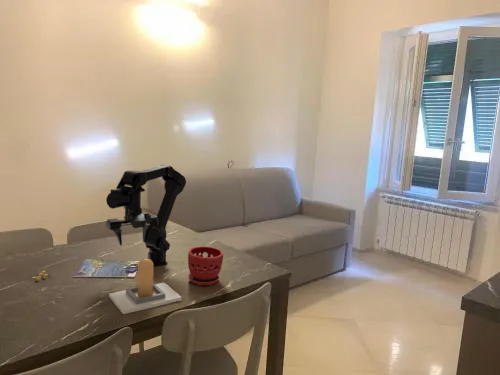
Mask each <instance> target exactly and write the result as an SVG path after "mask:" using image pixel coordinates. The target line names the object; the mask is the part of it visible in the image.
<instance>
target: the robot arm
mask: <svg viewBox="0 0 500 375" xmlns="http://www.w3.org/2000/svg"><path fill="white" fill-rule="evenodd" d="M159 178H161V179H162V180H163V181H164V191H165V192H164V195H163V199H162V201H161V203H160V206H159V209H158V212H157V214H156V216H155V215H154V214H151V213H149V212H147V213H143V208H142V207H141V206H142V205H141V203H142V202H141V200H142V199H141V198H142V196H141V193H143V192H144V193H145V192H146V190H145V189H144V187H143V186H144V185H146V184H147V183H148V182H149V181H152V180H157V179H159ZM186 184H187V180H186V177H185V176H184V175H182V173H180V172H179V171H177V170H176V169H175V168H173V166H171V165H167V164H160V165H158V166H156V167H151V168H147V169H144V170H126V171H124V172H123V174H122V177H121V178H120V180H119V182H118V184H117V186H116V188H115V189H110V193H108V195H107V196H106V205H107V206H108V207H109V208H110V209H112V210H113V209H119V208H123V209H124V216H123V219H124V220H120V219H118V218H110V219H107V220H106V222H105V227H106V228H107V229H108V230H111V231H112V232H114V234H115V236H116V239H117V242H118V244H119V246H122V245H123V244H122V243H123V241H122V239H123V238H122V231H123V229H121V228H122V227H123V226H130V225H131V226H132V228H134V229H138V228H142V242H143V243H144V244H145V248H146V249H149V250H148V252H147V258H148V259H150V260H151V261H152V262H153V267H155V266H162V265H167V264H168V261H167V252H168V250H169V251H170V247H171V244H170V242H168V240H167V230H166V227H167V225H168V221H169V219H170V217H171V213H172V210H173V207H174V205H175V201H176V199H177V196H179V195H180V194H181V193H182V192H183V191H184V188H185V186H186Z"/></svg>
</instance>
